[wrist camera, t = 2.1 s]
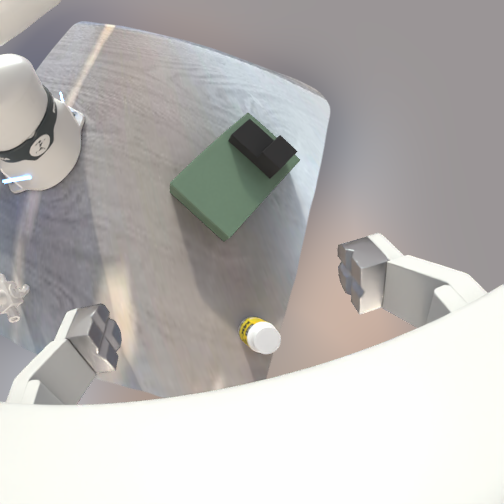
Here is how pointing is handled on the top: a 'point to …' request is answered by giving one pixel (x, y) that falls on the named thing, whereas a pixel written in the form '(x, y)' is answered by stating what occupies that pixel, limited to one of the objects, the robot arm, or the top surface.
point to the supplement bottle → (259, 335)
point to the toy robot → (11, 298)
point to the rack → (225, 184)
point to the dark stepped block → (262, 148)
